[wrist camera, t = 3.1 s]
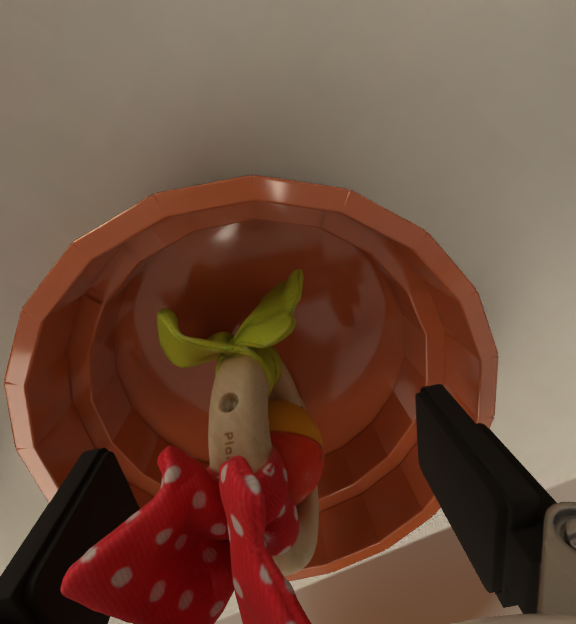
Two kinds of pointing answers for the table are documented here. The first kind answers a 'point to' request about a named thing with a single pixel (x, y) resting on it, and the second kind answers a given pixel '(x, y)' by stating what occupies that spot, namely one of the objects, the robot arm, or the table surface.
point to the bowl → (292, 350)
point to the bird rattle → (221, 492)
